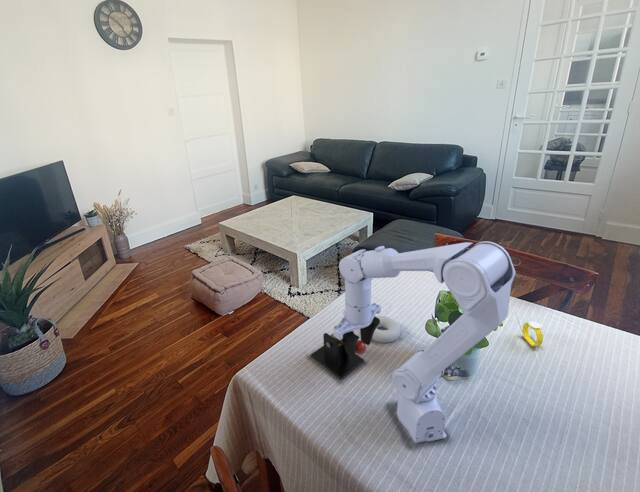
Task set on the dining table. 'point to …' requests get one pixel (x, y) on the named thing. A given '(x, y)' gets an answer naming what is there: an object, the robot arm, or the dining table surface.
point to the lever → (359, 346)
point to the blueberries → (451, 373)
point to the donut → (389, 334)
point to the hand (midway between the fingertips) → (358, 348)
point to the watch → (537, 329)
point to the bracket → (336, 357)
